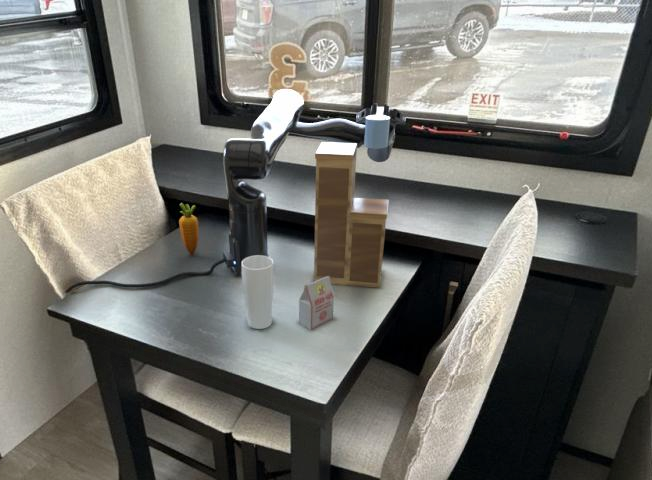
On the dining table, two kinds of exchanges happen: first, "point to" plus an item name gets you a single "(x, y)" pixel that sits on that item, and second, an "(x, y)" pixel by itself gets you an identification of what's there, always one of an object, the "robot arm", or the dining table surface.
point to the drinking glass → (258, 290)
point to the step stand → (346, 221)
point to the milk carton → (316, 303)
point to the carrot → (189, 228)
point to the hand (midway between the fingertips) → (380, 107)
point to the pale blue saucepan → (377, 130)
